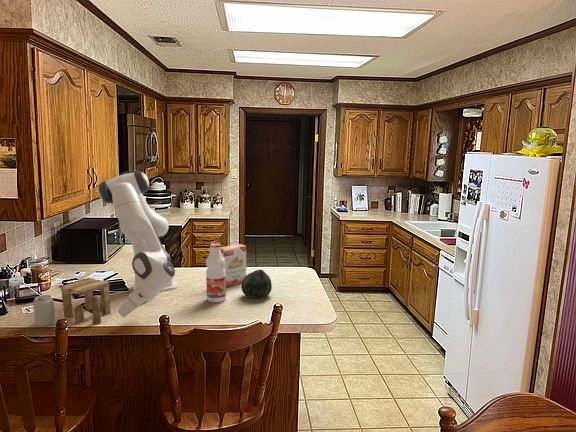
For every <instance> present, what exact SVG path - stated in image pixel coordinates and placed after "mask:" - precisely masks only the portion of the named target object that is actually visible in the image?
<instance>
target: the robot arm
mask: <svg viewBox="0 0 576 432" xmlns="http://www.w3.org/2000/svg"><path fill="white" fill-rule="evenodd" d="M149 189H150V181H149V177H148V176H147V175H146V174H145V173H144V172H143V171H141V170H136V171H133V172H127V173H123V174H121V175H119V176H115V177H113V178H110V179H108V180H104V181H102V182H100V183H99V185H98V189H97V190H98V194H99V195H98V196H99V197H100V199H101V200H102V201H103V203H106V204H112V205H113V208H114V211H115V214H116V217H117V219H118V222H119V226H118V227H119V230H120V232H121V234H123V235H124V236H125V237H127V239H128V240H129V242H130V244H131V245H132V248H133V258H132V261H131V267H132V269H133V271H134V283H133V288H132V291H131V292H130V293H129V295H128V296H127V298H126V300H125V301H124V302H123V304H121V305H120V307H119V308H118V310H117V313H118V314H119V315H120V316H121V318H125V317H127V316H128V315H129V314H131V313H132V312H133V311H135V310H136V309H137V308H141V307H142V306H143V305H145V304H146V305H147V304H149V303H151V302H152V301H153V300H154V299H155V298H156V297H157V296H158V295H159V294H160V292H165V291H169V290H170V291H171V290H174V289H177V288H178V285H179V284H178V282H177V280H175V279H174V277H175V275H176V270H175V267H174V265H173V264H172V258H171V256H170V254H169V253H168V251H166V249H165V248H164V246H163V243H162V241H161V240H160V237H164V236H166V234H167V233H168V231H169V221H168V220H167V218H165V217H164V216H161V214H158V213H157V212H156V211H154V209H152V208H151V207H150V206H149V204H148V202H147V200H146V199H145V196H144V194H145V193H146V192H148V191H149Z"/></svg>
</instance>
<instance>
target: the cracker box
mask: <svg viewBox="0 0 576 432" xmlns="http://www.w3.org/2000/svg"><path fill="white" fill-rule="evenodd" d="M220 251H221V254H222V256H223V257H224V259H225V266H224V268H225V272H226V288H228V287H231V286H235V285H239V284H242V281H243V279H244V277H245V276H246V275H247V245H245V244H241V243H240V244H234V245H227V246H220Z"/></svg>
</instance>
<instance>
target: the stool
mask: <svg viewBox="0 0 576 432" xmlns="http://www.w3.org/2000/svg"><path fill="white" fill-rule="evenodd" d="M99 290H100V305H101V306H102V307H103V316H104V315H105V316H108V315H109V314H112V312H111V300H110V299H111V297H110V282H109V281H105V280H101V279H95V278H92V277H86V278H82V279H80V280H77V281H74V282H73V281H72V282H70V283H68V284H64V285H61V286H60V291H61V298H62V299H61V300H62V309H63V318H64V319H66V320H70V319H72V318H73V317H74V324H75V325H79V324H80V323H82V322H83V321H84V320H85V319H84V317H85V316H84V307H83V304H78V305H76V306H75V307H74V308H73V302H72V294H75V295H80V296H84V302H85V303H84V305H85V310H87V311H92V310H91V309H92V298H91V297H92V296H94V291H99Z"/></svg>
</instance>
